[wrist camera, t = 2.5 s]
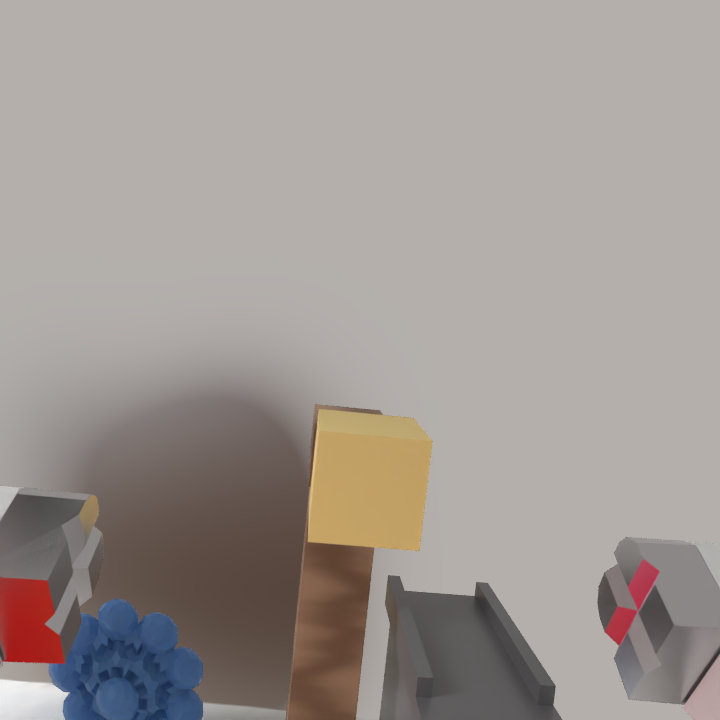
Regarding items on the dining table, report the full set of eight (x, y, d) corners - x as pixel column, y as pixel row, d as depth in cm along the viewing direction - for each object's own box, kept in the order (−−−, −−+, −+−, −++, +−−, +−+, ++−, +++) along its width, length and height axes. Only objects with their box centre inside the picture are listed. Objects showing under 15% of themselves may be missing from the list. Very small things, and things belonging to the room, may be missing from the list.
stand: (237, 947, 36) (290, 426, 34) (256, 790, 48) (296, 398, 46) (365, 951, 36) (422, 438, 35) (353, 795, 48) (395, 408, 47)
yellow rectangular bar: (307, 542, 26) (319, 430, 25) (311, 444, 43) (318, 377, 42) (419, 551, 26) (432, 441, 26) (378, 451, 43) (386, 384, 42)
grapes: (15, 791, 45) (29, 621, 45) (55, 730, 52) (68, 581, 51) (186, 802, 46) (202, 634, 45) (204, 740, 53) (218, 594, 52)
